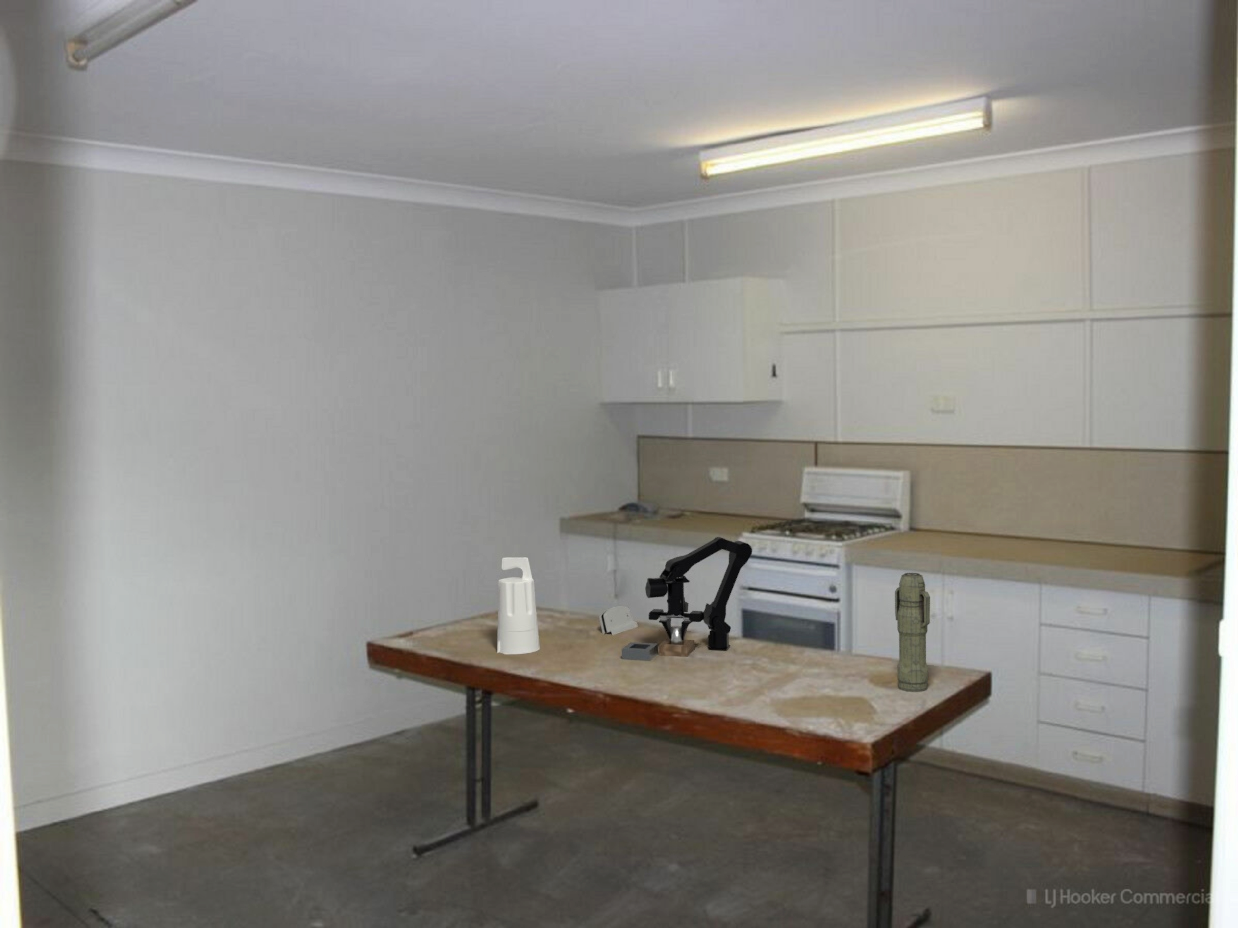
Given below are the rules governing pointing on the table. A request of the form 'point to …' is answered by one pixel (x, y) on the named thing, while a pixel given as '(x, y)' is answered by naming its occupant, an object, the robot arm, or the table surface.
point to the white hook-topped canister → (517, 610)
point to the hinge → (617, 620)
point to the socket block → (676, 648)
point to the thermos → (912, 632)
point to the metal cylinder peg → (676, 635)
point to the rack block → (640, 651)
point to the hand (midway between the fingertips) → (676, 639)
